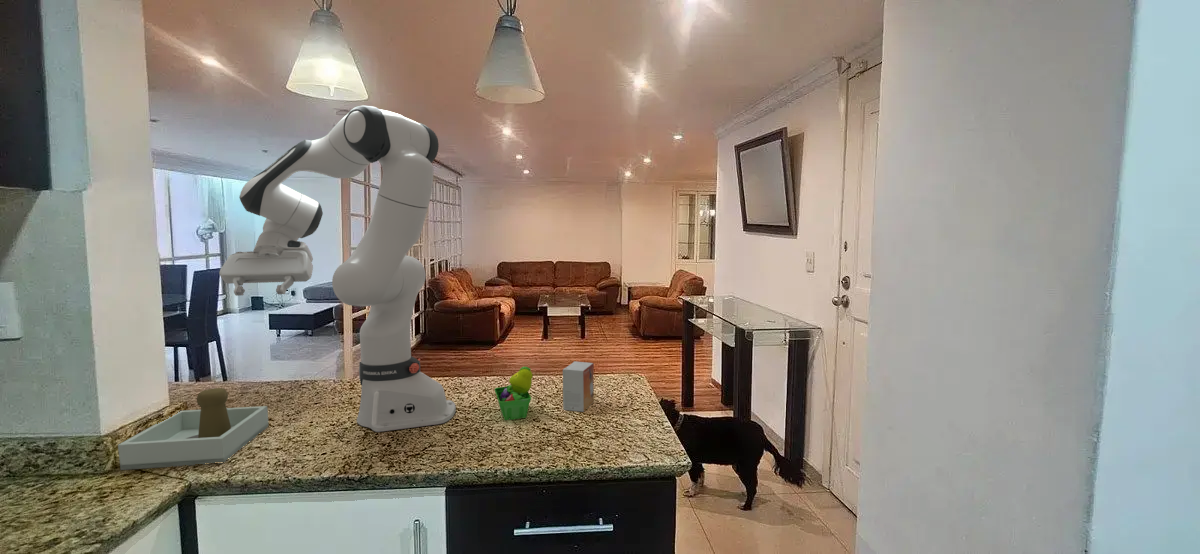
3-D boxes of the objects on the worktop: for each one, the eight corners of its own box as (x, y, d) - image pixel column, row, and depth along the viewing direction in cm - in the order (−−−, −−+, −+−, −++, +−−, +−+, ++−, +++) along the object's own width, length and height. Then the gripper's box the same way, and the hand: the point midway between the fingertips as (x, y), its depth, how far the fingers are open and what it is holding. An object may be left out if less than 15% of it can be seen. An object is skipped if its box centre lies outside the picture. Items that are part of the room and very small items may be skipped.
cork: (213, 447, 104) (209, 394, 103) (189, 445, 105) (185, 392, 105) (240, 436, 110) (237, 385, 109) (217, 434, 111) (213, 384, 110)
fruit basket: (494, 406, 130) (493, 363, 129) (528, 403, 133) (528, 360, 132) (499, 423, 120) (498, 376, 118) (537, 418, 122) (536, 372, 121)
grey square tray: (268, 427, 118) (267, 406, 118) (224, 463, 100) (222, 438, 100) (182, 432, 115) (180, 410, 115) (120, 470, 98) (117, 444, 97)
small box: (583, 412, 126) (583, 371, 125) (562, 410, 128) (562, 369, 127) (594, 402, 134) (594, 362, 133) (574, 399, 135) (574, 360, 134)
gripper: (225, 244, 130) (206, 286, 122) (311, 242, 134) (299, 284, 125) (236, 260, 135) (218, 302, 127) (319, 258, 139) (307, 299, 130)
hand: (259, 293), depth 126 cm, fingers open, 8 cm apart
